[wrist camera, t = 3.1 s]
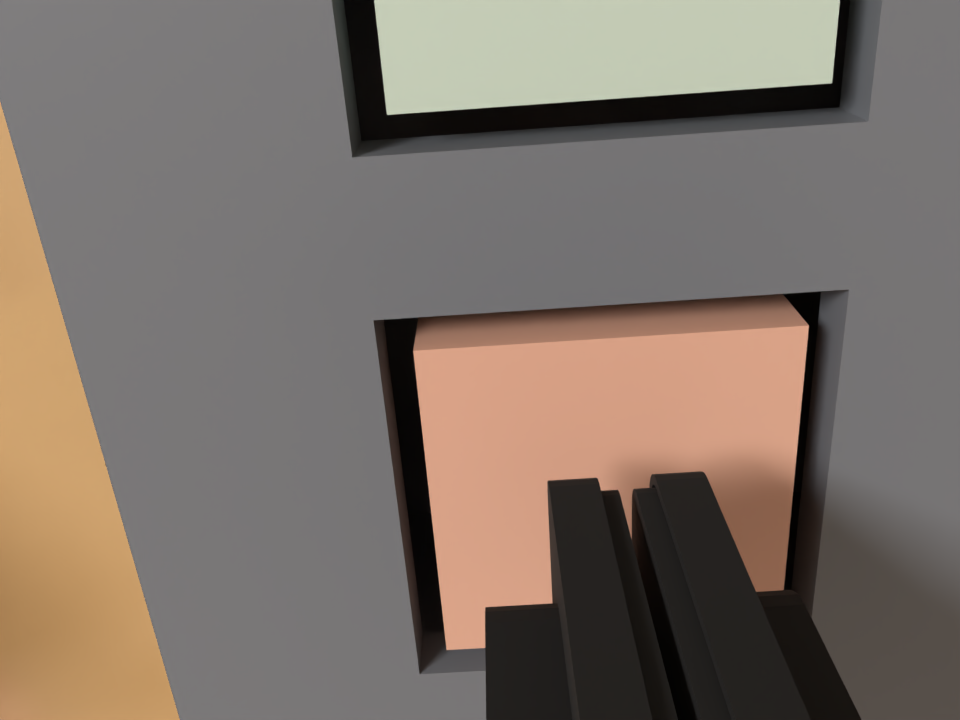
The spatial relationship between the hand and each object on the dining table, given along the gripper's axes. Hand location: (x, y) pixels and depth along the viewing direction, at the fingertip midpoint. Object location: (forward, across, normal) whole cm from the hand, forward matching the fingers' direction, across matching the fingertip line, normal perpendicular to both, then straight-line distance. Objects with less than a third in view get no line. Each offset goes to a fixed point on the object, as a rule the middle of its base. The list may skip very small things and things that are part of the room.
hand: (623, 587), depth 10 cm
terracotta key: (+4, 0, 0) cm, 4 cm away
